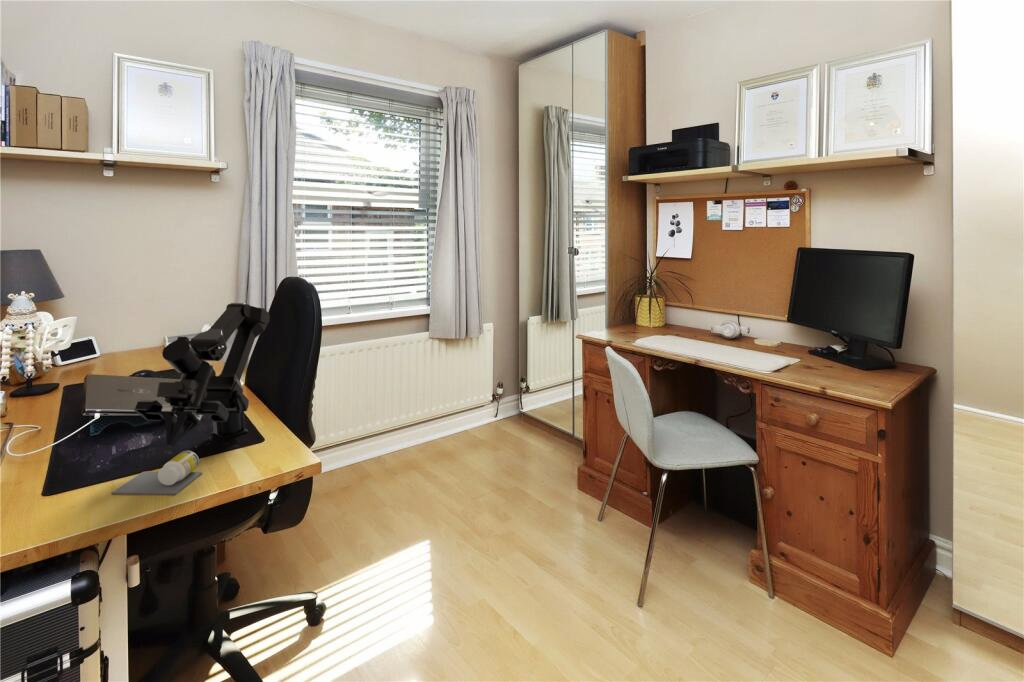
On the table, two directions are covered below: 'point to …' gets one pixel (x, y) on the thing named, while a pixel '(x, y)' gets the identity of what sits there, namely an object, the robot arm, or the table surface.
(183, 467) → the supplement bottle
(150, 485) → the mat
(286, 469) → the table surface
